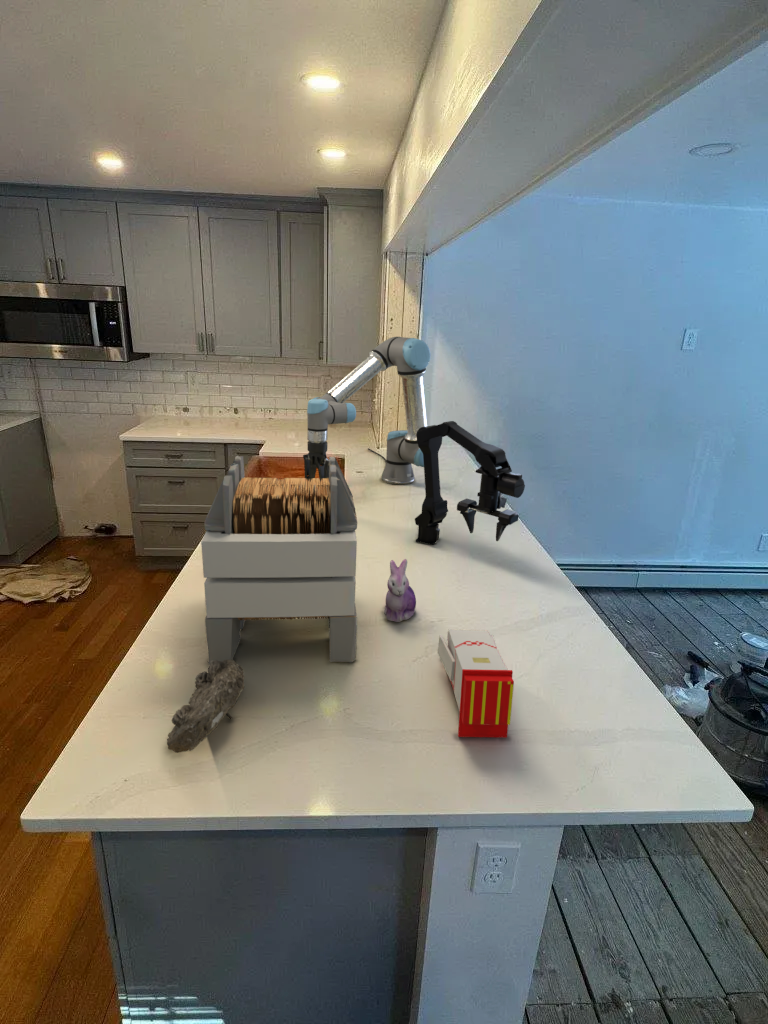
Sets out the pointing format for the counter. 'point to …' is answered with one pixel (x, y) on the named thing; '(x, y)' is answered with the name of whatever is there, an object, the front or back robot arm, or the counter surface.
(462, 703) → the toy
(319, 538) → the record storage crate
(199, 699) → the fossil
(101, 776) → the counter surface
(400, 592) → the figurine
